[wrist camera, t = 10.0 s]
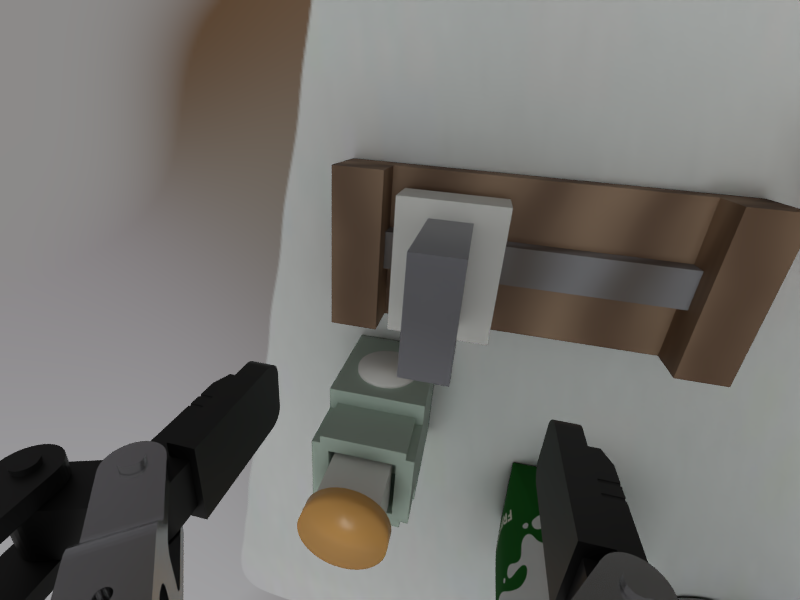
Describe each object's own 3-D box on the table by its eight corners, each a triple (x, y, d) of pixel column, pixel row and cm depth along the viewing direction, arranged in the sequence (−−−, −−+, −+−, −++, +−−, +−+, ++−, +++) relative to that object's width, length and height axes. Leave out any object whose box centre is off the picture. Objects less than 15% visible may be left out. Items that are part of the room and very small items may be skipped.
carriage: (510, 199, 23) (520, 240, 15) (487, 325, 26) (486, 411, 18) (405, 187, 24) (364, 221, 16) (395, 311, 27) (358, 388, 19)
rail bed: (765, 198, 23) (816, 214, 19) (698, 351, 27) (729, 387, 23) (353, 158, 26) (331, 164, 23) (350, 298, 31) (331, 322, 27)
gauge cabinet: (438, 344, 31) (417, 437, 22) (427, 429, 34) (405, 539, 25) (362, 331, 32) (311, 416, 23) (359, 415, 35) (313, 517, 26)
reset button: (405, 454, 23) (389, 516, 20) (399, 512, 25) (384, 578, 22) (325, 438, 24) (295, 494, 20) (325, 496, 26) (298, 556, 22)
